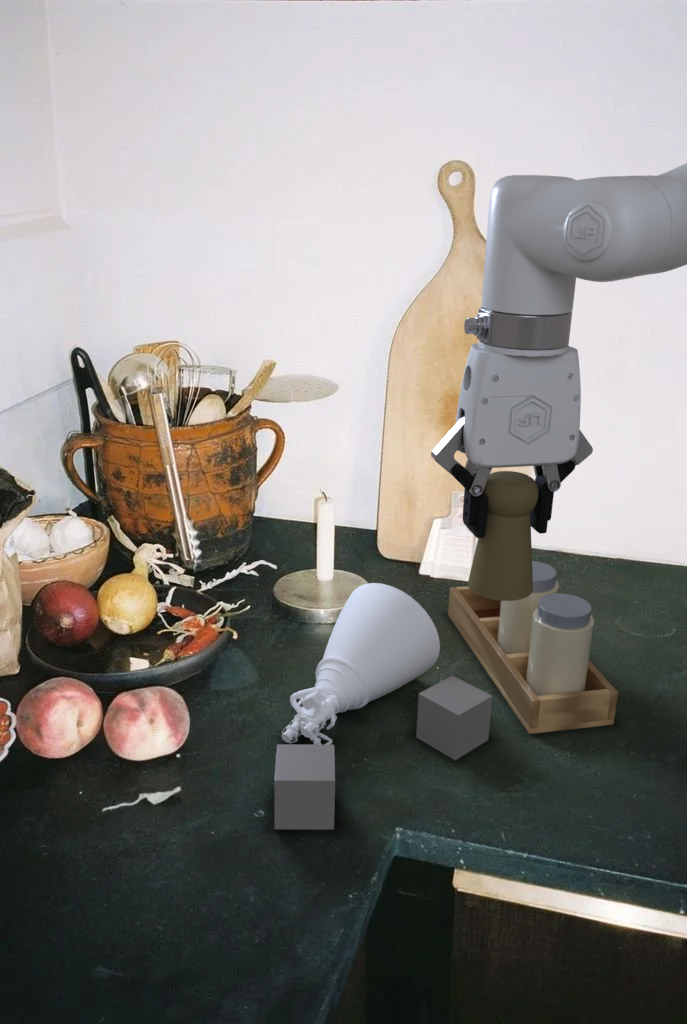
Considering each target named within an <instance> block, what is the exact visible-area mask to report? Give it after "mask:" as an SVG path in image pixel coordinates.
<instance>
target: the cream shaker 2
mask: <svg viewBox="0 0 687 1024" xmlns="http://www.w3.org/2000/svg"><path fill="white" fill-rule="evenodd" d="M594 627H595V619H594V616H593V615H592V605H591V604H590V603H589V602H588V601H587V600H586V599H584V598H582V597H580V596H577V595H574V594H570V593H569V594H568V593H559V592H558V593H557V594H549V595H545V596H543V597H542V598H540V600H539V602H538V608H537V609H535V611H534V612H533V620H532V629H531V638H530V647H529V657H528V666H527V675H526V682H527V683H528V685H529V686H530V687H531V689H532V690H533V691H534V693H535V694H536V696H543V695H553V694H562V693H572V692H582V691H585V687H586V679H587V672H588V665H589V660H590V658H591V657H590V656H591V649H592V642H593V635H594Z"/></svg>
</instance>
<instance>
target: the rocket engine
mask: <svg viewBox="0 0 687 1024" xmlns="http://www.w3.org/2000/svg"><path fill="white" fill-rule="evenodd" d="M440 650H441V643H440V637H439V633H438V630H437V627H436V625H435V623H434V622H433V620H432V618H431V617H430V615H429V613H427V611H426V610H425V608H423V607H422V605H421V604H420V603H419V602H418V601H416V600H415V599H414V598H413V597H412V596H411V595H409V594H407V593H406V592H404V591H403V590H401V589H399V588H397V587H395V586H392V585H389V584H385V583H381V582H379V583H378V582H369V583H365V584H362V585H359V586H358V587H356V588H355V589H354V590H353V591H352V592H351V594H350V595H349V597H348V598H347V600H346V601H345V603H344V605H343V607H342V609H341V611H340V612H339V615H338V617H337V619H336V620H335V624H334V627H333V628H332V631H331V634H330V636H329V639H328V641H327V645H326V647H325V650H324V653H323V657H322V659H321V660H320V661H319V662H318V664H317V665H316V669H315V684H314V686H313V687H309V688H306V689H301V690H298V691H297V692H293V693H292V694H291V695H290V697H289V703H290V705H291V707H292V708H293V709H294V710H295V712H296V714H295V715H294V717H293V719H291V721H290V723H289V724H288V725H287V726H285V727H284V728H283V730H282V731H281V735H280V737H281V739H282V741H284V742H285V743H286V744H293V743H296V742H298V737H299V736H302V735H303V736H304V737H305V738H309V740H310V741H311V742H312V743H313V744H312V745H332V744H333V739H332V738H331V737H329V736H328V735H326V734H324V733H323V732H320V731H321V730H322V729H325V726H326V725H327V723H326V722H327V721H328V720H330V722H329V724H328V725H327V726H326V731H327V730H330V729H332V728H333V727H335V724H336V721H337V719H338V716H337V714H338V713H345V712H347V711H348V710H349V711H351V710H359V709H362V708H364V707H365V706H367V705H368V703H371V702H372V701H375V700H377V699H380V698H381V697H384V696H386V695H388V694H390V693H392V692H394V691H395V690H398V689H400V688H402V687H403V686H405V685H407V684H408V683H410V682H412V681H414V680H415V679H417V678H418V677H420V676H421V675H423V674H424V673H426V672H427V671H428V670H429V669H431V668H432V667H433V666H434V665H435V664H436V663H437V660H438V658H439V657H440ZM297 699H298V700H299V701H298V702H297ZM301 705H302V706H301ZM285 730H286V731H285ZM322 740H325V741H327V742H326V743H324V744H322V743H321V741H322Z"/></svg>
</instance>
